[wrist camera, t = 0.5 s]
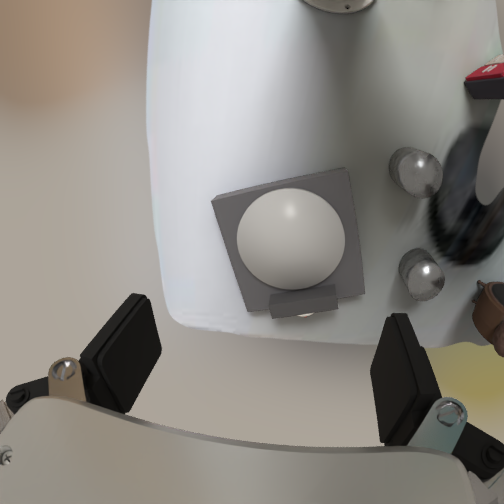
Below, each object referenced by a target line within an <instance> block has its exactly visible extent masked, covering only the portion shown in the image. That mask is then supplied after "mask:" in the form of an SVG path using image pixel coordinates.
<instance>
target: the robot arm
mask: <svg viewBox="0 0 504 504" xmlns="http://www.w3.org/2000/svg"><path fill="white" fill-rule="evenodd" d="M304 1H305V2H307V3H308V4H310V5H312V6H313V7H315V8H318V9H321V10H323V11H327V12H332V13H341V14H344V13H353V12H358V11H360V10H362V9H365V8H366V7H368V6H369V5H370V4H371V3H372V2H373V1H374V0H304ZM346 7H347V8H348V9H346ZM161 351H162V347H161V343H160V339H159V335H158V331H157V327H156V324H155V319H154V315H153V311H152V307H151V302H150V300H149V299H147V297H146V296H145V295H142V294H135V293H132V294H131V295H130V296H129V297H128V298H127V299H126V300H125V301H124V303H123V304H122V305H121V306H120V307H119V308H118V310H117V311H116V312H115V313H114V314H113V315H112V317H111V318H110V319H109V320H108V321H107V323H106V324H105V325H104V326H103V327H102V329H101V330H100V331H99V332H98V333H97V335H96V336H95V337H94V338H93V340H92V341H91V342H90V343H89V344H88V346H87V347H86V348H85V349H84V351H83V352H82V353H81V354H80V357H81V358H80V360H79V361H78V360H77V359H74V358H71V357H66V358H62V359H59V360H58V361H56V362H54V363H53V364H52V365H51V367H50V369H49V372H48V376H47V377H44V378H41V379H38V380H34V381H31V382H28V383H24V384H21V385H18V386H15V387H14V388H12V389H11V390H10V392H9V393H8V395H7V397H6V402H4V401H3V400H1V401H0V504H504V444H503V443H501V442H500V441H499V440H496V439H495V438H493V437H492V436H490V435H488V434H486V433H485V432H483V431H482V430H480V429H478V428H477V427H475V426H473V425H472V424H470V423H468V422H467V417H468V415H467V410H466V408H465V406H464V405H463V404H462V403H461V402H460V401H458V400H457V399H454V398H450V397H444V398H442V396H441V393H440V390H439V387H438V384H437V381H436V378H435V375H434V372H433V370H432V367H431V364H430V361H429V359H428V356H427V354H426V351H425V349H424V347H422V346H420V345H419V342H418V340H417V337H416V335H415V332H414V330H413V327H412V325H411V322H410V320H409V318H408V315H407V314H406V313H392V314H391V316H390V317H387V318H386V320H385V324H384V327H383V331H382V334H381V337H380V340H379V344H378V347H377V350H376V353H375V356H374V359H373V362H372V365H371V369H370V375H371V380H372V386H373V393H374V400H375V406H376V414H377V421H378V429H379V436H380V442H381V443H384V445H385V446H377V447H305V446H288V445H276V444H265V443H256V442H248V441H240V440H233V439H227V438H221V437H215V436H209V435H204V434H199V433H194V432H190V431H185V430H181V429H176V428H172V427H168V426H164V425H160V424H156V423H152V422H149V421H145V420H142V419H138V418H135V417H132V416H128V415H125V413H127V412H129V411H130V410H131V408H132V406H133V404H134V402H135V400H136V398H137V397H138V395H139V393H140V391H141V389H142V388H143V386H144V384H145V382H146V380H147V378H148V376H149V375H150V373H151V371H152V369H153V368H154V366H155V364H156V362H157V360H158V359H159V357H160V355H161Z"/></svg>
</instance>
